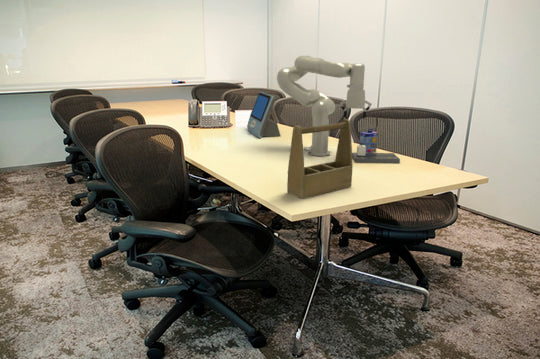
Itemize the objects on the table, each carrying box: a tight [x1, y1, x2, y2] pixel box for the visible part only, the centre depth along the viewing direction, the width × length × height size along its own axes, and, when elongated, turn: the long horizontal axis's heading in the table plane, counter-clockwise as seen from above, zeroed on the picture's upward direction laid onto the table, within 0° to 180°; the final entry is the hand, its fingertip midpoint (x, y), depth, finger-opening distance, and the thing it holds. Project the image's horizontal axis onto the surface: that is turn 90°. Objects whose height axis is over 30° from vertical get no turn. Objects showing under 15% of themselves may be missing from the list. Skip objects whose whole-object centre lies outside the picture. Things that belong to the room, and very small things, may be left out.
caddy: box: [286, 118, 354, 200], centre depth 178 cm, size 29×11×30 cm, turn 126°
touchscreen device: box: [246, 91, 282, 139], centre depth 303 cm, size 35×20×30 cm, turn 17°
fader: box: [356, 144, 366, 156], centre depth 232 cm, size 4×4×5 cm
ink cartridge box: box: [358, 128, 379, 153], centre depth 251 cm, size 10×6×14 cm, turn 117°
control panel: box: [352, 152, 401, 164], centre depth 233 cm, size 24×14×3 cm, turn 89°
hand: (354, 118), depth 230 cm, fingers open, 9 cm apart
